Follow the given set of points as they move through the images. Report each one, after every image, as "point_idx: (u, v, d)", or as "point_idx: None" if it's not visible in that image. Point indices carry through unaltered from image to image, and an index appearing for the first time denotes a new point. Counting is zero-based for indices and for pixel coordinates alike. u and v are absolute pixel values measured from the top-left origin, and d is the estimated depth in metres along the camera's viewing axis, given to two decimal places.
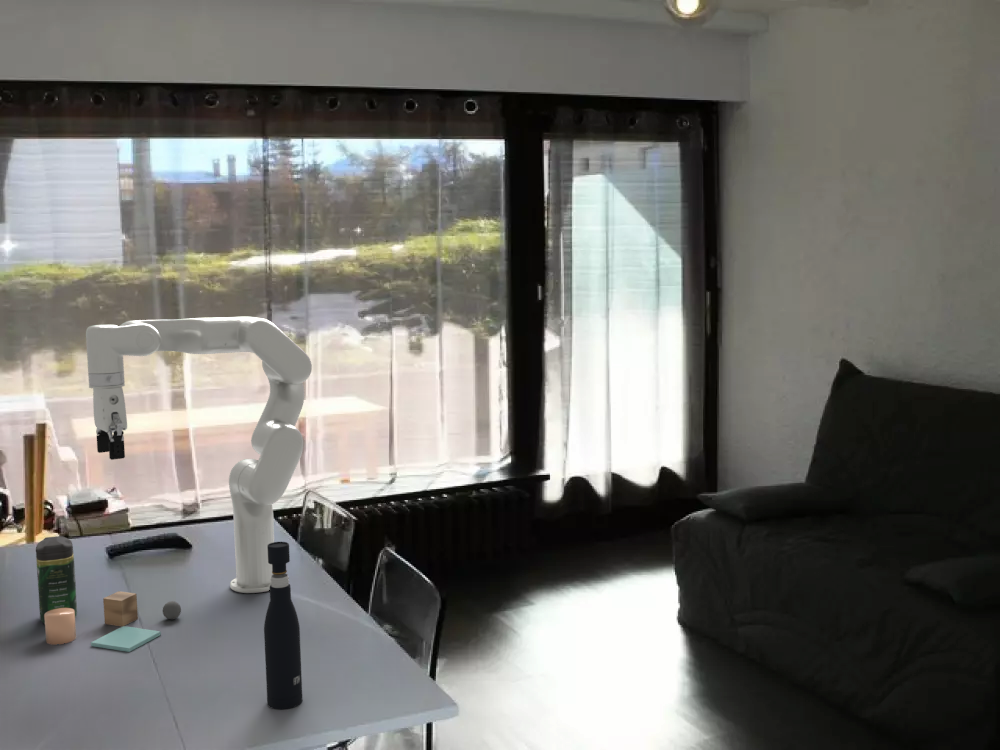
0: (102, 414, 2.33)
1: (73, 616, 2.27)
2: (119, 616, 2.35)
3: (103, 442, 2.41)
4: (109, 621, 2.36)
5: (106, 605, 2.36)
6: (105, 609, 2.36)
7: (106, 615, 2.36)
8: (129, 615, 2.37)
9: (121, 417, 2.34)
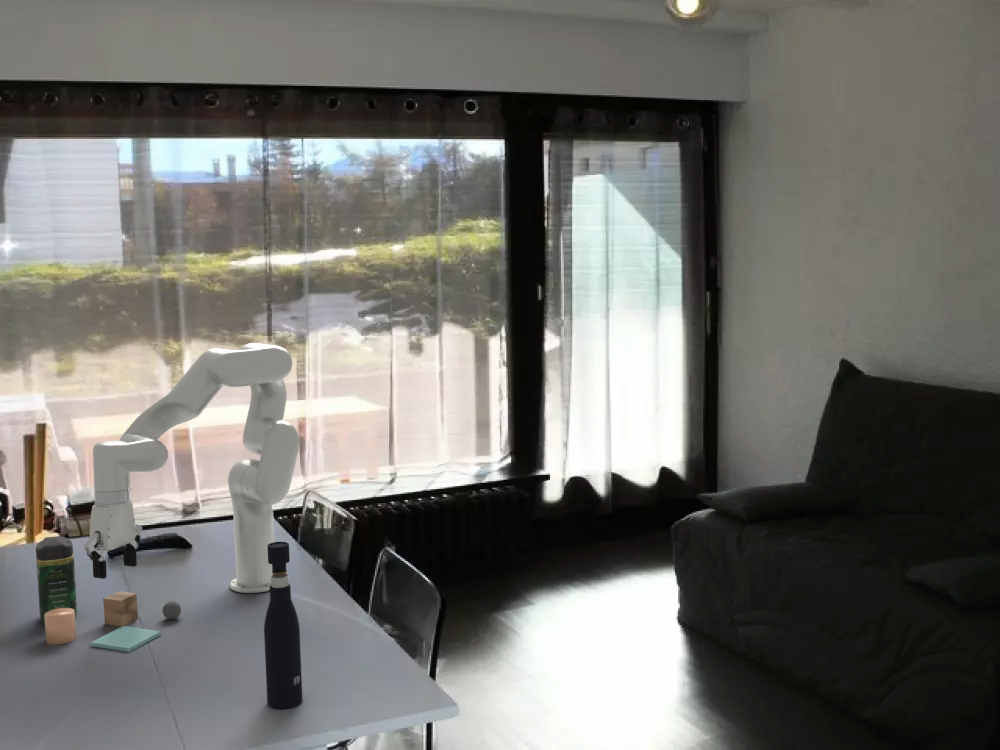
0: (132, 525, 2.37)
1: (73, 616, 2.27)
2: (119, 616, 2.35)
3: None
4: (109, 621, 2.36)
5: (106, 605, 2.36)
6: (105, 609, 2.36)
7: (106, 615, 2.36)
8: (129, 615, 2.37)
9: None
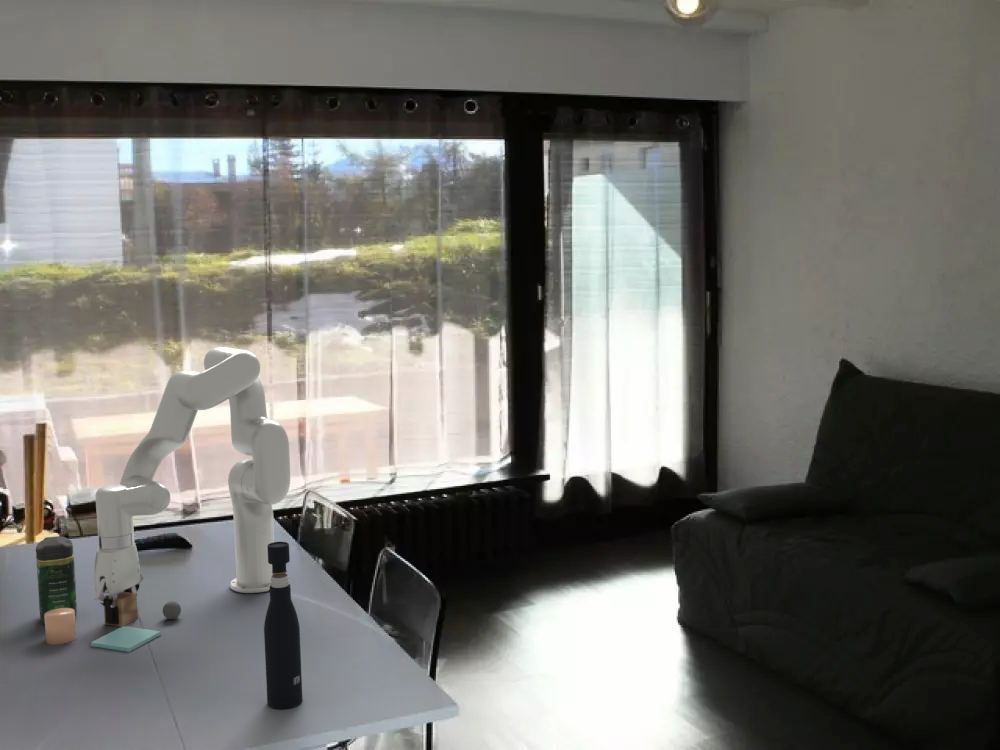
0: (136, 568, 2.39)
1: (73, 616, 2.27)
2: (119, 615, 2.35)
3: None
4: None
5: None
6: None
7: None
8: (129, 615, 2.37)
9: None
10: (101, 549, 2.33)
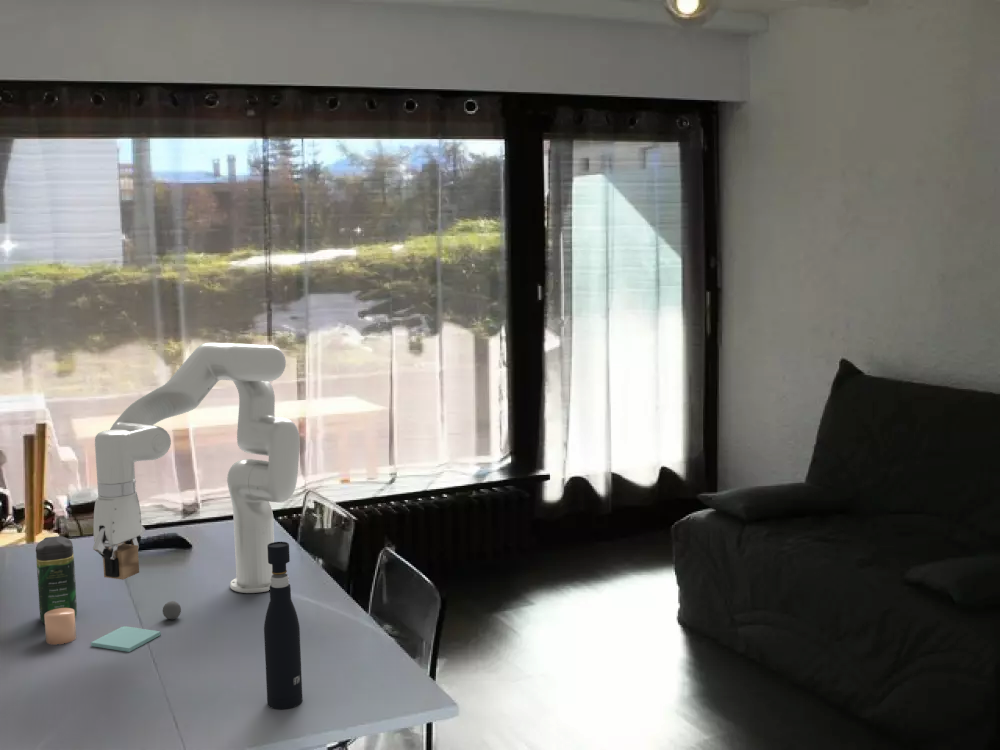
0: (138, 518, 2.26)
1: (73, 616, 2.27)
2: (119, 568, 2.22)
3: None
4: None
5: None
6: (104, 561, 2.23)
7: None
8: (130, 567, 2.23)
9: None
10: (100, 497, 2.20)
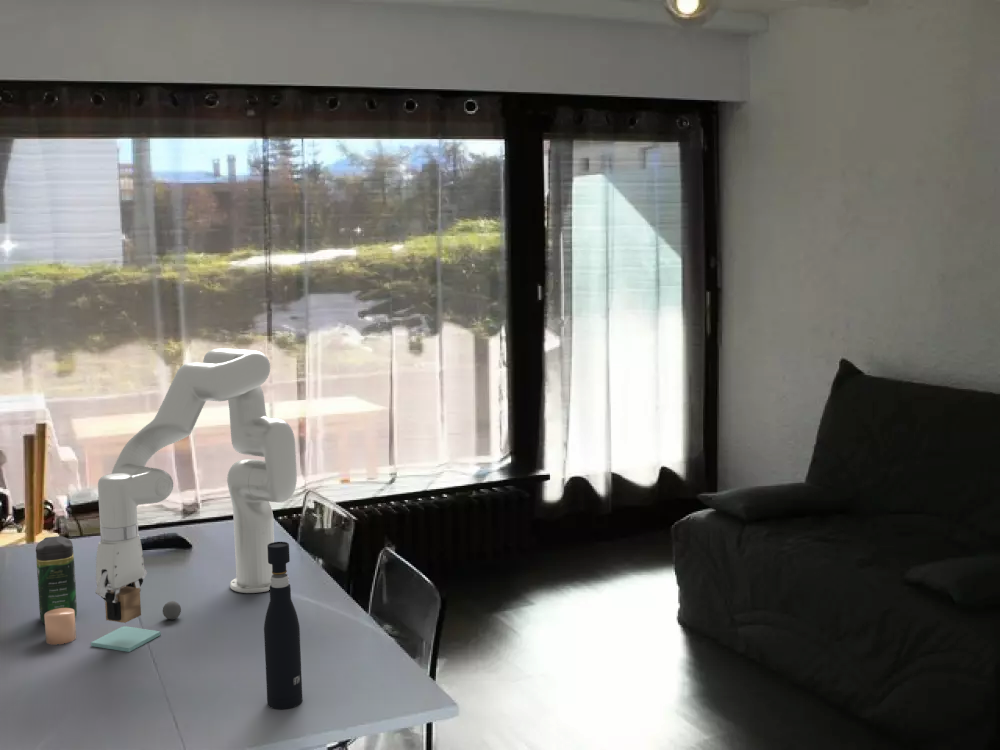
0: (140, 561, 2.27)
1: (73, 616, 2.27)
2: (121, 611, 2.22)
3: None
4: None
5: None
6: (106, 604, 2.24)
7: None
8: (132, 610, 2.24)
9: None
10: (103, 541, 2.21)
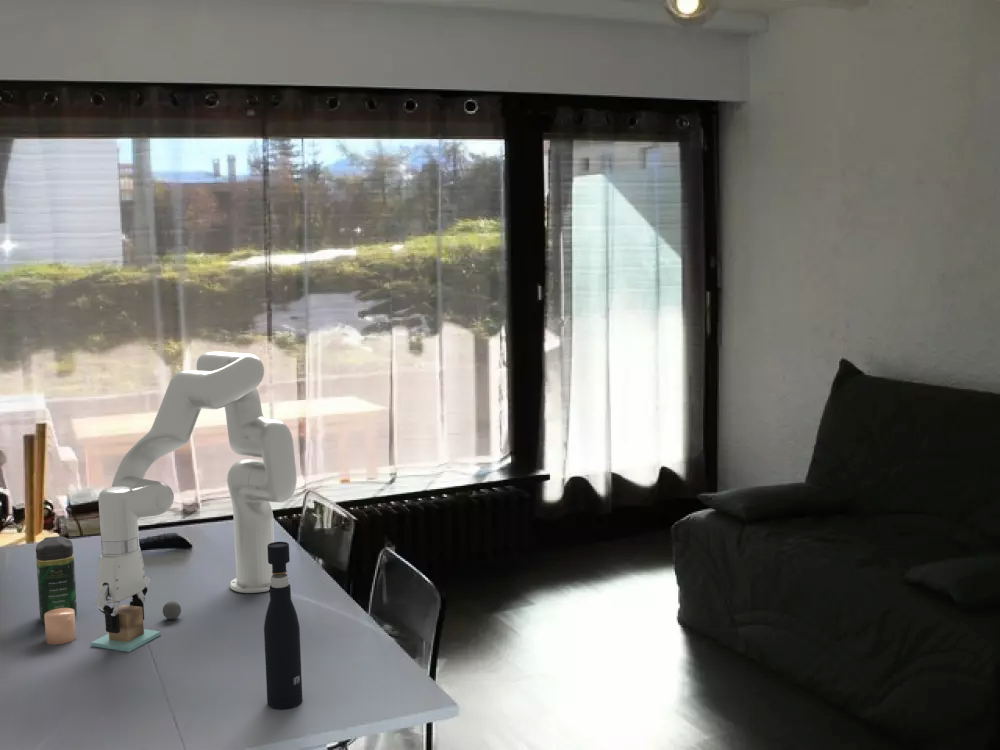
0: (141, 573, 2.27)
1: (73, 616, 2.27)
2: (124, 631, 2.23)
3: None
4: (114, 636, 2.25)
5: None
6: None
7: None
8: (135, 629, 2.25)
9: None
10: (104, 554, 2.21)
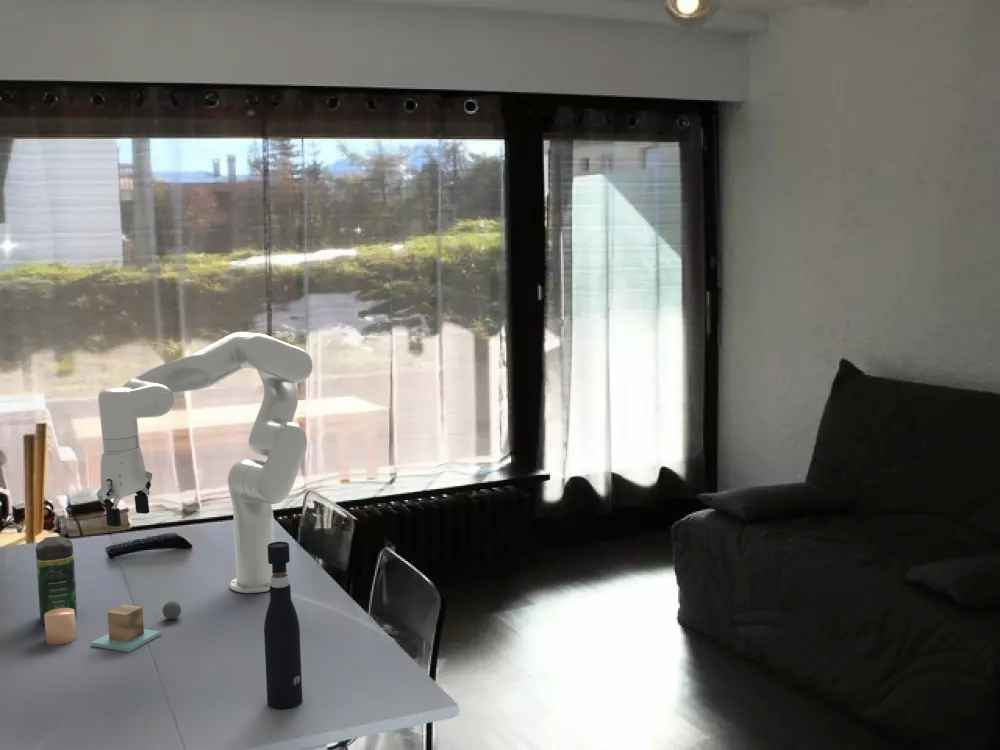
0: (142, 472, 2.35)
1: (73, 616, 2.27)
2: (124, 631, 2.23)
3: None
4: (114, 636, 2.25)
5: (110, 620, 2.24)
6: (109, 623, 2.25)
7: (111, 630, 2.25)
8: (135, 629, 2.25)
9: None
10: (106, 452, 2.29)
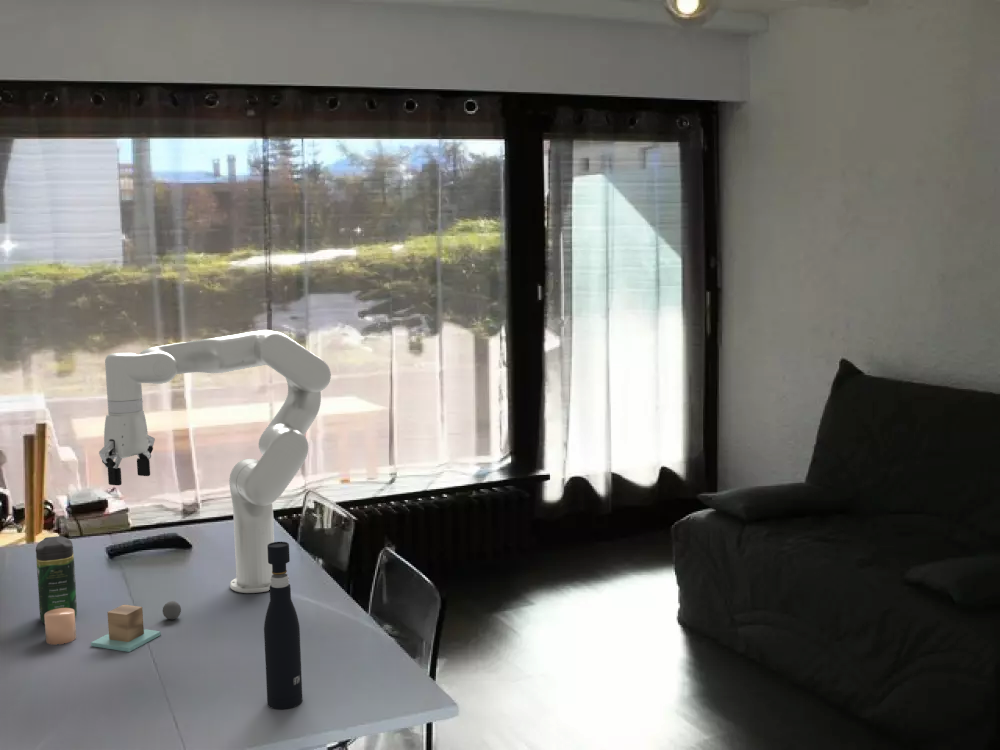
0: (145, 435, 2.45)
1: (73, 616, 2.27)
2: (124, 631, 2.23)
3: None
4: (114, 636, 2.25)
5: (110, 620, 2.24)
6: (109, 623, 2.25)
7: (111, 630, 2.25)
8: (135, 629, 2.25)
9: None
10: (110, 413, 2.39)
